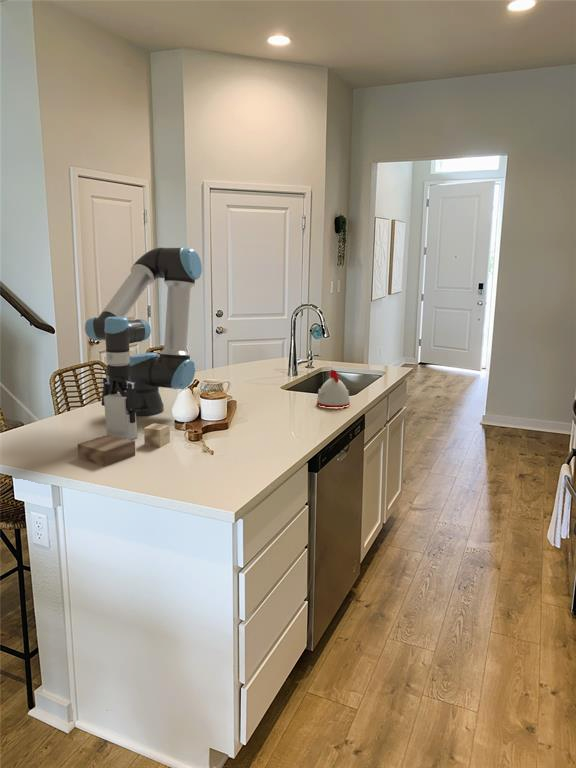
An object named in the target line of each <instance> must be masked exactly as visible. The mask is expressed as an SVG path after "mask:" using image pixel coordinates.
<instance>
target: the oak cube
mask: <svg viewBox="0 0 576 768" xmlns="http://www.w3.org/2000/svg"><path fill="white" fill-rule="evenodd" d="M170 429H171V428H170V425H169V424H161V423H154V422H153V423H151V424H150V425H147V426H145V427H143V438H144V440H143V442H144V446H148V447H153V448H162V447H164V446H166V445H167V444H169V443H171V434H170V433H171V432H170Z"/></svg>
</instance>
